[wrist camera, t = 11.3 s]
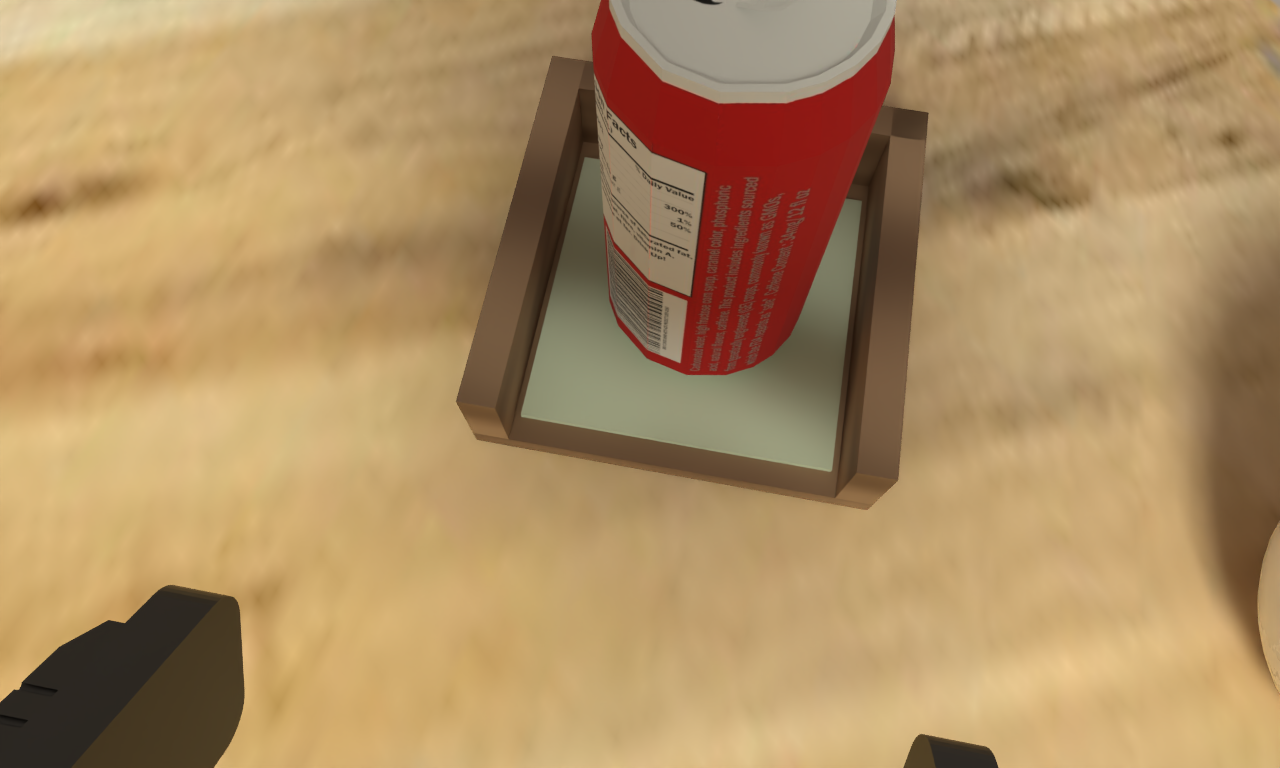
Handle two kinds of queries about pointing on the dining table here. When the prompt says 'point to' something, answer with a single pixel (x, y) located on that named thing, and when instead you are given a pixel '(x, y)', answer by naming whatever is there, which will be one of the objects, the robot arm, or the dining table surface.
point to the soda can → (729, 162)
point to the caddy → (698, 404)
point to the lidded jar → (1271, 606)
